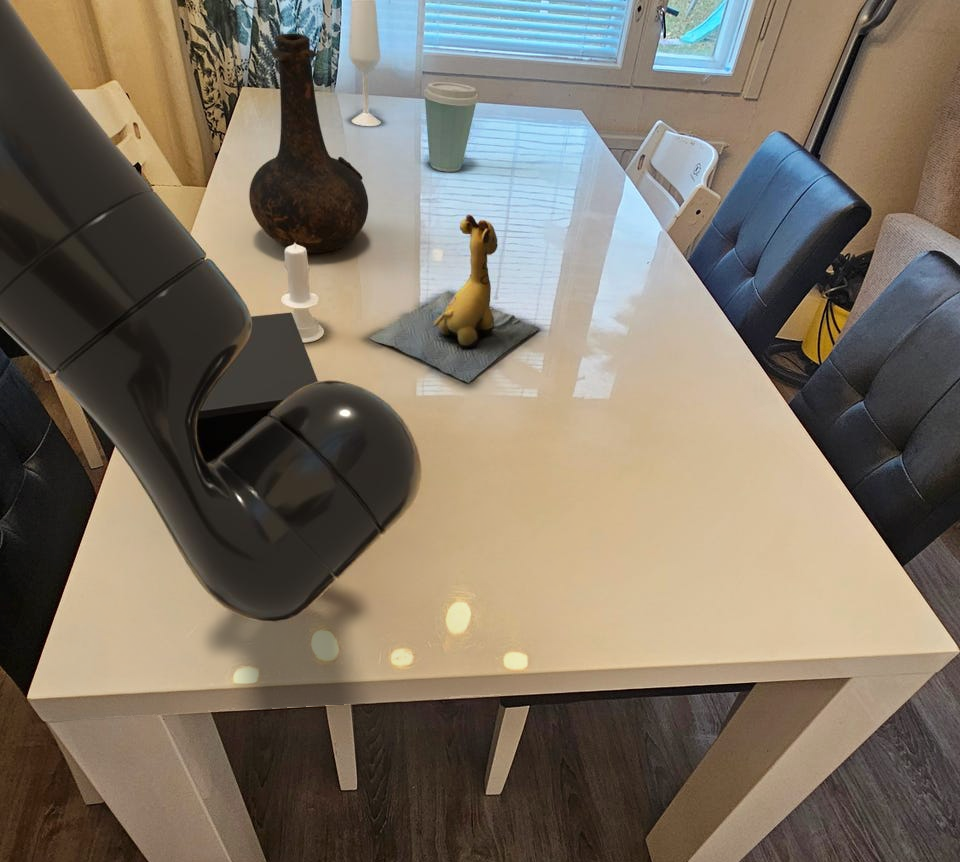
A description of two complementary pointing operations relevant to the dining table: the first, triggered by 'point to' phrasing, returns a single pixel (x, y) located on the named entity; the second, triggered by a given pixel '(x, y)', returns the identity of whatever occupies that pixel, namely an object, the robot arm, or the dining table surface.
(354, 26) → the champagne flute
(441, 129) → the disposable coffee cup
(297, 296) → the candle
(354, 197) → the glass bottle
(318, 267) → the dining table surface
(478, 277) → the stuffed giraffe
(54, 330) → the robot arm
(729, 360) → the dining table surface
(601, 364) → the dining table surface
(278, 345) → the dark gray cabinet
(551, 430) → the dining table surface
